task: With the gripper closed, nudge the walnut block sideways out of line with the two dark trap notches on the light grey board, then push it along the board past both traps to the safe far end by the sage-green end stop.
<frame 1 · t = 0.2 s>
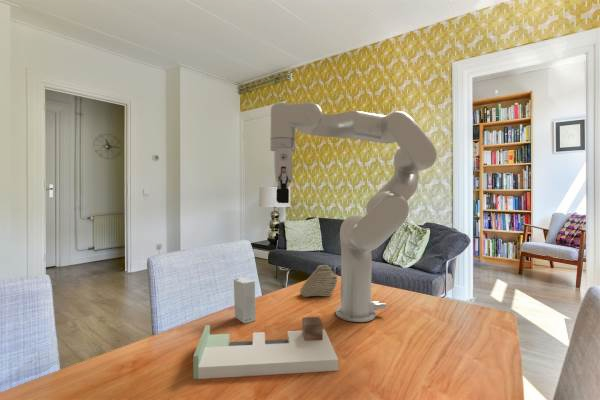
hand: (282, 202, 97), 36 cm above the table, tool pointing down, fingers open, 9 cm apart
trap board: (269, 356, 76), on the table
walnut block: (312, 336, 81), point 2 cm above the table, touching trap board
skincare box: (244, 319, 98), on the table
fossil tooth: (319, 295, 121), on the table
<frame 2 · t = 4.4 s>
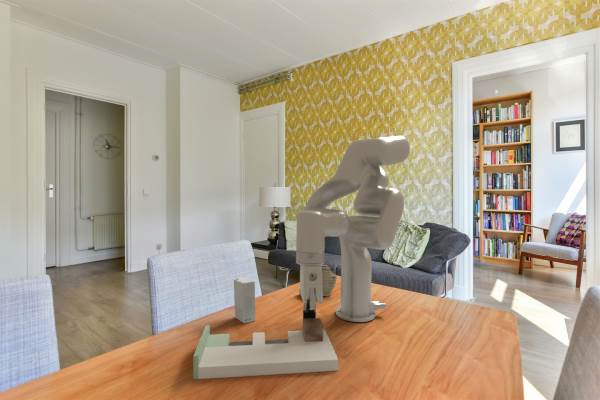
hand: (309, 325, 85), 4 cm above the table, tool pointing down, fingers closed
walnut block: (312, 337, 81), point 3 cm above the table, touching gripper
everything else where it was.
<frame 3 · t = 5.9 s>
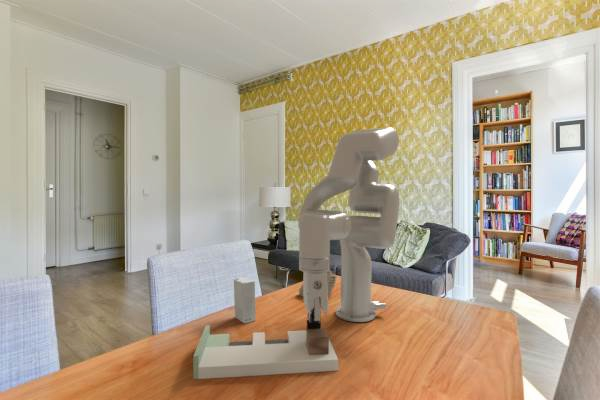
hand: (313, 336, 79), 4 cm above the table, tool pointing down, fingers closed
walnut block: (317, 349, 74), point 2 cm above the table, touching gripper, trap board
everything else where it was.
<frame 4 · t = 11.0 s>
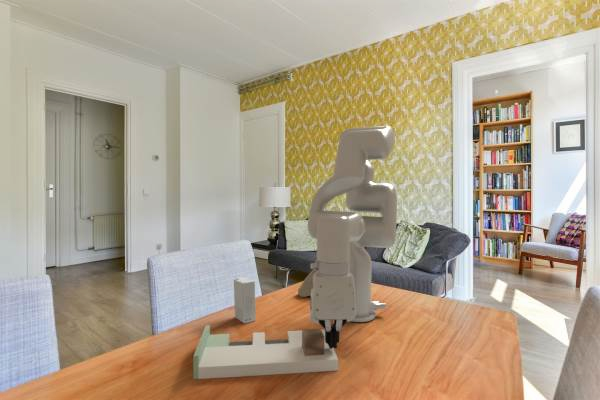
hand: (331, 345, 74), 4 cm above the table, tool pointing down, fingers closed
walnut block: (312, 350, 74), point 2 cm above the table, touching gripper, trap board
everything else where it was.
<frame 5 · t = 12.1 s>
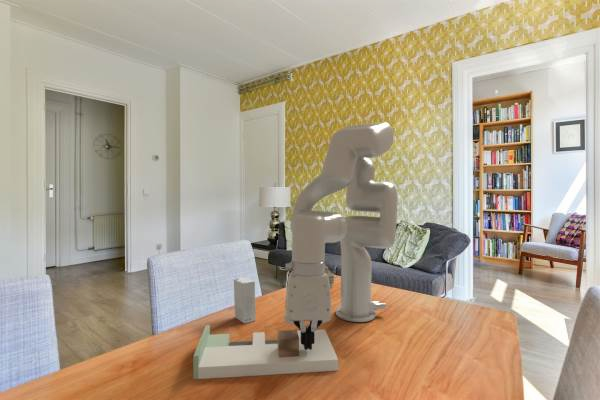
hand: (307, 346, 74), 4 cm above the table, tool pointing down, fingers closed
walnut block: (288, 351, 73), point 3 cm above the table, touching gripper
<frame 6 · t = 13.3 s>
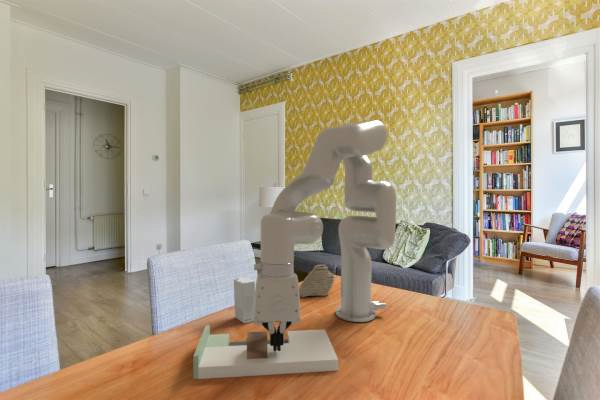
hand: (276, 348, 73), 4 cm above the table, tool pointing down, fingers closed
walnut block: (257, 353, 73), point 3 cm above the table, touching gripper, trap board
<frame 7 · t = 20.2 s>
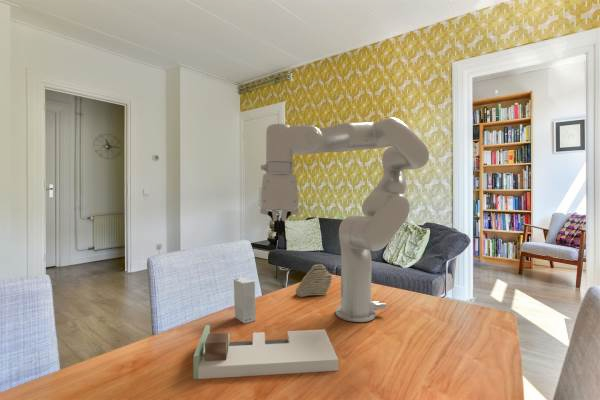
hand: (279, 234, 90), 27 cm above the table, tool pointing down, fingers closed
walnut block: (217, 355, 72), point 2 cm above the table, touching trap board
at the end: walnut block inside the target area on the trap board (2.8 cm from its centre), point 2.5 cm above the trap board's base; walnut block tilted 0° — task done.
